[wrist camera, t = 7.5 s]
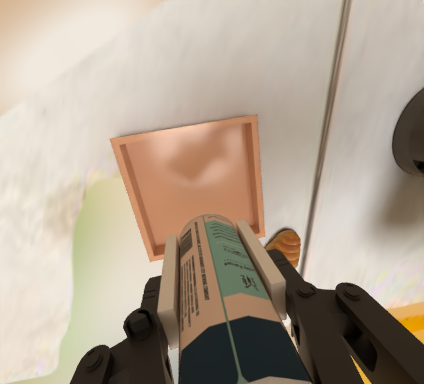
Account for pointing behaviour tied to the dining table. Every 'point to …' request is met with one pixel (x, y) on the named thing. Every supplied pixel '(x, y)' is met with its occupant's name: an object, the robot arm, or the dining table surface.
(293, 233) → the pastry
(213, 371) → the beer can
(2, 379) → the dining table surface
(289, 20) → the dining table surface
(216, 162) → the terracotta dish
